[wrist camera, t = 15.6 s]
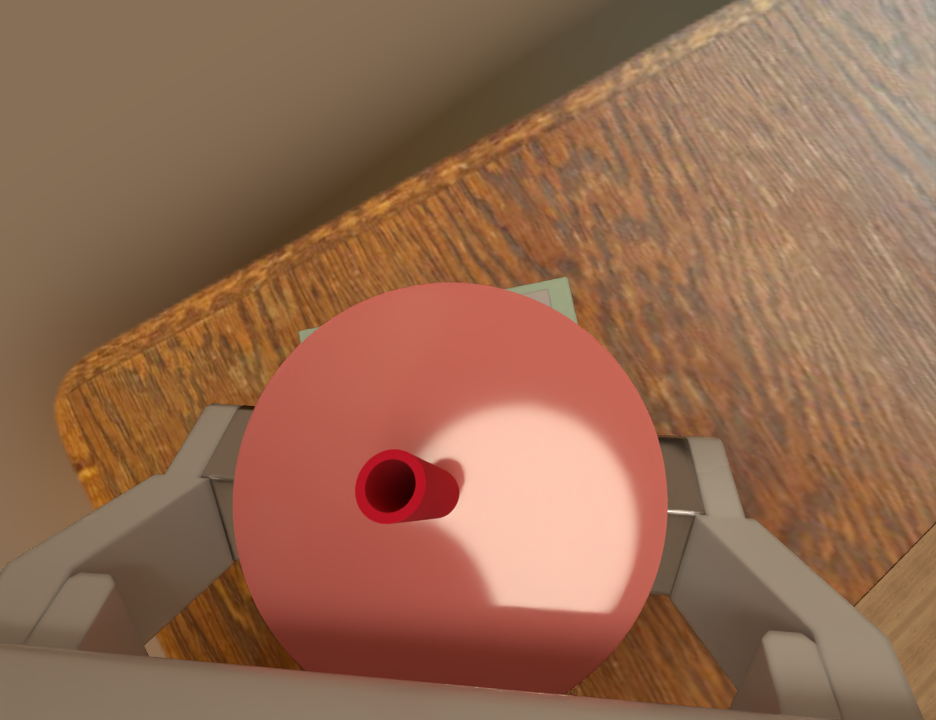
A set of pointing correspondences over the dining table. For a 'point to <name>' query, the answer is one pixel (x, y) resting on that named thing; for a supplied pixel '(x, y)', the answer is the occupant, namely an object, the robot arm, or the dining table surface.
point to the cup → (451, 494)
